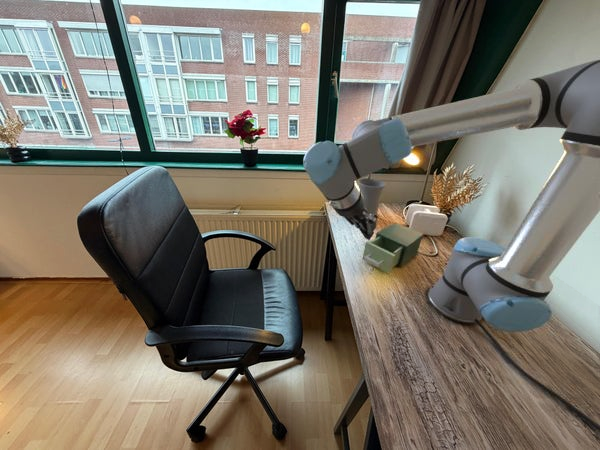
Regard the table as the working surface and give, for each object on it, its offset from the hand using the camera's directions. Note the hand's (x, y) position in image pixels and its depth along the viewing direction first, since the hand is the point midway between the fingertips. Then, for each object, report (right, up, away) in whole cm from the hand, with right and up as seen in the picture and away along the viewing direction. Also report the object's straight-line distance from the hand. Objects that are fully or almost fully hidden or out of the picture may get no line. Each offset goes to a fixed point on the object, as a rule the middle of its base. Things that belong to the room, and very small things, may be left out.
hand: (369, 235), depth 76 cm
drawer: (+10, -11, +19) cm, 24 cm away
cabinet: (+18, -9, +26) cm, 33 cm away
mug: (+13, +8, +56) cm, 58 cm away
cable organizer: (+39, 0, +45) cm, 59 cm away
